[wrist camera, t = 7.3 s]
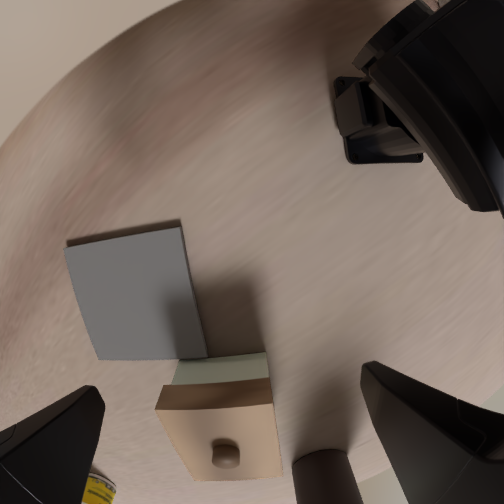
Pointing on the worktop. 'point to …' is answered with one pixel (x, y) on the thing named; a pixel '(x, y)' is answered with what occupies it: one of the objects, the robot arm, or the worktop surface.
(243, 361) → the pale green box
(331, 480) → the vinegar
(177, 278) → the mat
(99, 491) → the supplement bottle
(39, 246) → the worktop surface
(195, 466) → the cover
